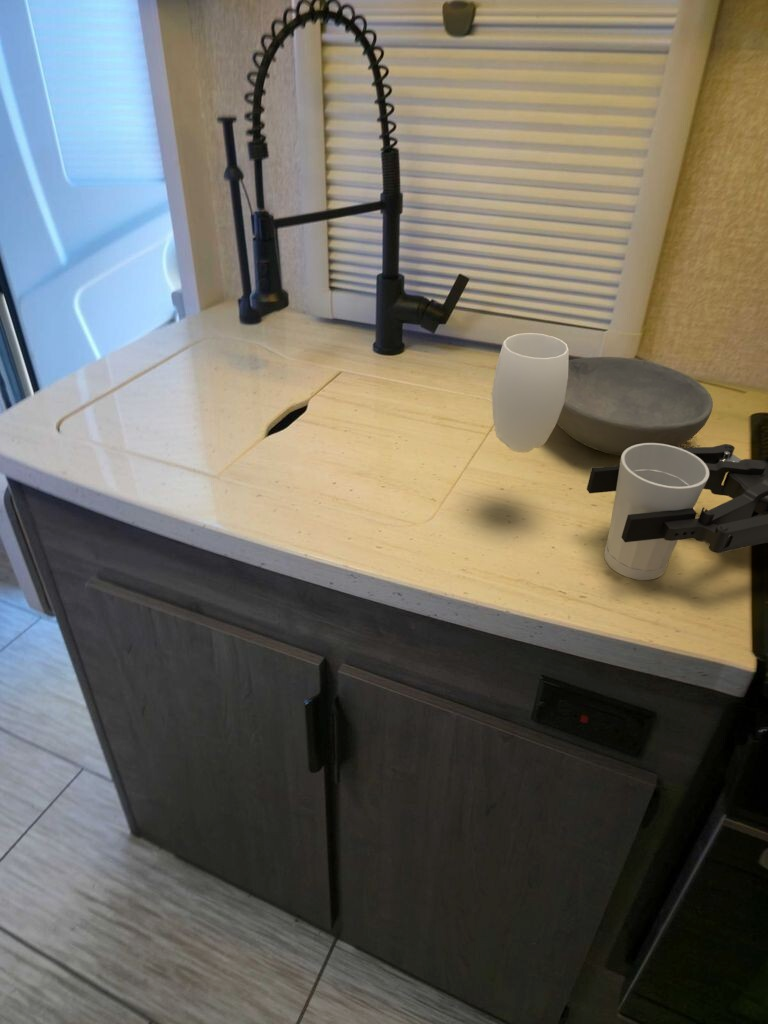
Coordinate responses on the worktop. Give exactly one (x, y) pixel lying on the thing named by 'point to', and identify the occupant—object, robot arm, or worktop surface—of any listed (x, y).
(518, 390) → the cup
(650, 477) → the cup
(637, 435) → the bowl
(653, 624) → the worktop surface
